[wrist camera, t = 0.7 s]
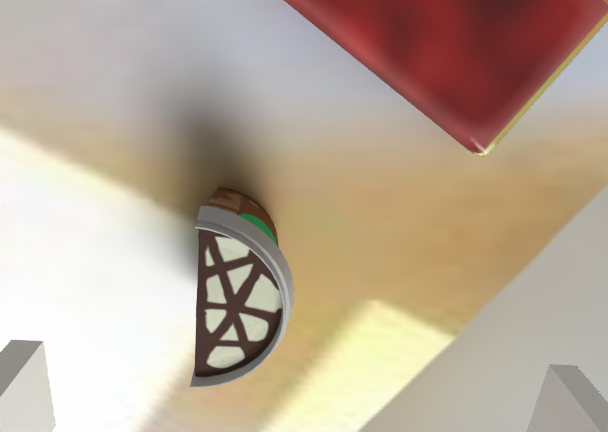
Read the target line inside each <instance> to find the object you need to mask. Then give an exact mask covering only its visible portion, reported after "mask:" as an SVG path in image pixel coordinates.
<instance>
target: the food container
mask: <svg viewBox="0 0 608 432" xmlns="http://www.w3.org/2000/svg"><path fill="white" fill-rule="evenodd" d="M195 228H198V229H199V236H198V237H199V261H198V286H197V304H196V348H195V368H194V373H193V377H192V381H191V385H190V388H206V387H214V386H219V385H223V384H227V383H230V382H232V381H235V380H237V379H240V378H242V377H244V376H245V375H247V374H249V373H250V372H252V371H254V370H255V369H256V368H257V367H258V366H260V365H261V364H262V363H263V362H264V361H265V360H266V359H267V358H268V357H269V356H270V354H271V353H272V352H273V351H274V350H275V349H276V347H277V346H278V344H279V342H280V341H281V339H282V337H283V335H284V332H285V330H286V327H287V325H288V322H289V320H290V317H291V314H292V309H293V304H294V286H293V279H292V275H291V272H290V269H289V266H288V263H287V261H286V260H285V258H284V256H283V254H282V252H281V251H280V249H279V246H278V239H277V233H276V230H275V227H274V224H273V222H272V220H271V219H270V217H269V215H268V214H267V213H266V211H265V210H264V209H263V208H262V207H261V206H260V205H259V204H258V203H257V202H255V201H254V200H252V199H251V198H249V197H248V196H246V195H244V194H242V193H239V192H237V191H234V190H230V189H225V188H219V187H218V188H217V189H216V191H215V193H214V194H213V196H212V198H211V199H210V201H209V203H208V204H207V206H204V205H201V207H200V210H199V213H198V216H197V222H196V224H195Z"/></svg>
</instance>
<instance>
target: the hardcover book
mask: <svg viewBox="0 0 608 432" xmlns="http://www.w3.org/2000/svg"><path fill="white" fill-rule="evenodd" d="M284 1H285V2H287V3H288V4H289V5H290V6H292V7H293V8H294V9H295V10H297V11H298V12H299V13H300V14H301V15H303V16H304V17H305V18H306V19H308V20H309V21H310V22H311V23H313V24H314V25H315V26H316V27H317V28H319V29H320V30H321V31H322V32H324V33H325V34H326V35H327V36H329V37H330V38H331V39H332V40H333V41H335V42H336V43H337V44H338V45H340V46H341V47H342V48H343V49H345V50H346V51H347V52H348V53H350V54H351V55H352V56H353V57H354V58H356V59H357V60H358V61H359V62H361V63H362V64H363V65H364V66H366V67H367V68H368V69H369V70H370V71H372V72H373V73H374V74H375V75H377V76H378V77H379V78H380V79H382V80H383V81H384V82H385V83H387V84H388V85H389V86H390V87H391V88H393V89H394V90H395V91H396V92H398V93H399V94H400V95H401V96H403V97H404V98H405V99H406V100H407V101H409V102H410V103H411V104H412V105H414V106H415V107H416V108H417V109H419V110H420V111H421V112H422V113H423V114H425V115H426V116H427V117H428V118H430V119H431V120H432V121H433V122H435V123H436V124H437V125H438V126H440V127H441V128H442V129H443V130H444V131H446V132H447V133H448V134H449V135H451V136H452V137H453V138H454V139H456V140H457V141H458V142H459V143H460V144H462V145H463V146H464V147H465V148H467V149H468V150H469V151H470V152H472V153H473V154H475V155H477V156H482V157H483V156H487V155H488V154H489V153H490V152H491V150H492V149H493V148H494V147H495V146H496V145H497V144H498V143H499V141H500V140H501V139H502V138H503V137H504V136H505V135H506V134H507V133H508V131H509V130H510V129H511V128H512V127H513V126H514V125H515V124H516V123H517V121H518V120H519V119H520V118H521V117H522V116H523V115H524V114H525V113H526V111H527V110H528V109H529V108H530V107H531V106H532V105H533V104H534V102H535V101H536V100H537V99H538V98H539V97H540V96H541V95H542V94H543V92H544V91H545V90H546V89H547V88H548V87H549V86H550V85H551V84H552V82H553V81H554V80H555V79H556V78H557V77H558V76H559V75H560V73H561V72H562V71H563V70H564V69H565V68H566V67H567V66H568V65H569V63H570V62H571V61H572V60H573V59H574V58H575V57H576V56H577V55H578V53H579V52H580V51H581V50H582V49H583V48H584V47H585V46H586V45H587V43H588V42H589V41H590V40H591V39H592V38H593V37H594V36H595V34H596V33H597V32H598V31H599V30H600V29H601V28H602V27H603V26H604V24H605V23H606V22H607V21H608V0H284Z"/></svg>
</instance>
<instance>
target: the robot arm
mask: <svg viewBox="0 0 608 432" xmlns="http://www.w3.org/2000/svg"><path fill="white" fill-rule="evenodd" d="M54 427H55V419H54V412H53V405H52V398H51V392H50V385H49V378H48V371H47V364H46V358H45V351H44V344H43V341H26V340H11V341H10V342H9V343H8V345H7V346H6V347H5V348H4V349H3V350H2V351H1V353H0V432H52V430H53V429H54ZM527 432H608V402H607V401H606V400H605V399H604V397H603V396H602V395H601V394H600V393H599V391H598V390H597V389H596V388H595V387H594V386H593V384H592V383H591V382H590V381H589V380H588V378H587V377H586V376H585V375H584V374H583V372H582V371H581V370H580V369H579V368H578V367H577V366H571V365H549V367H548V370H547V373H546V376H545V379H544V382H543V385H542V388H541V391H540V394H539V397H538V400H537V403H536V406H535V409H534V412H533V415H532V418H531V421H530V424H529V427H528V430H527Z"/></svg>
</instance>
